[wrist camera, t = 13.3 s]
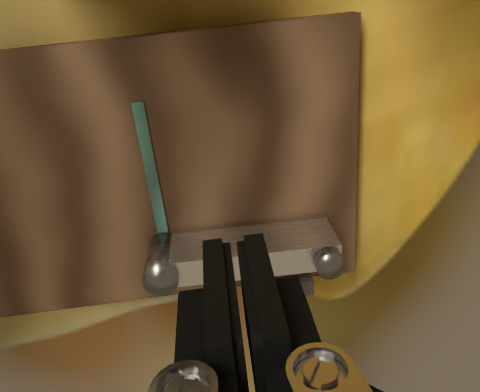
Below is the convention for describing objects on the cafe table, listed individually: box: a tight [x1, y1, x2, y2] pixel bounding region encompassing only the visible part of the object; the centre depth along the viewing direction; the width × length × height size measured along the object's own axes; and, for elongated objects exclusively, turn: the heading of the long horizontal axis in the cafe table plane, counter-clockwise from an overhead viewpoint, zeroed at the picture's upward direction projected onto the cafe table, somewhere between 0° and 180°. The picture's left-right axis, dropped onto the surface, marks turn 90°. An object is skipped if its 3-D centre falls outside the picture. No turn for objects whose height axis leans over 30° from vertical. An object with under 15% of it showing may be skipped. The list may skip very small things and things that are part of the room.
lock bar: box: [142, 217, 346, 296], centre depth 32 cm, size 14×2×5 cm, turn 94°
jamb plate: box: [0, 12, 361, 317], centre depth 31 cm, size 30×20×6 cm, turn 95°
